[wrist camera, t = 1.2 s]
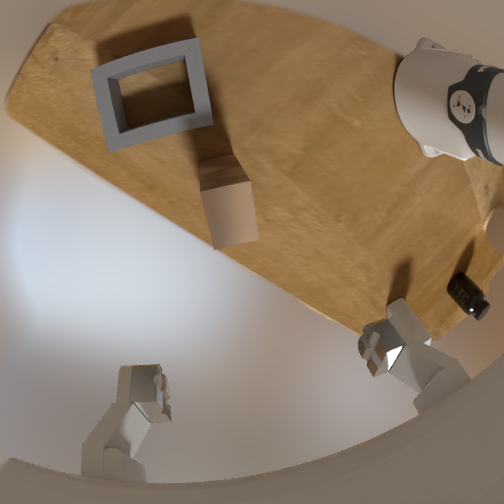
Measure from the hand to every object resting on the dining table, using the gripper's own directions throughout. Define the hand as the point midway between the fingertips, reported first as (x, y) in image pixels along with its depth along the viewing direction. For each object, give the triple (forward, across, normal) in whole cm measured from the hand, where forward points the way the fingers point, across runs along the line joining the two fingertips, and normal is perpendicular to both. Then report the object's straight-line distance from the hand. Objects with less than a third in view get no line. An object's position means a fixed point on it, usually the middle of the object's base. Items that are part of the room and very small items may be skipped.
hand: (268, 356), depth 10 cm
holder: (+24, +5, -10) cm, 27 cm away
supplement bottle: (+24, -55, +28) cm, 66 cm away
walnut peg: (+24, -1, +1) cm, 25 cm away
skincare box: (+24, -35, +30) cm, 52 cm away
